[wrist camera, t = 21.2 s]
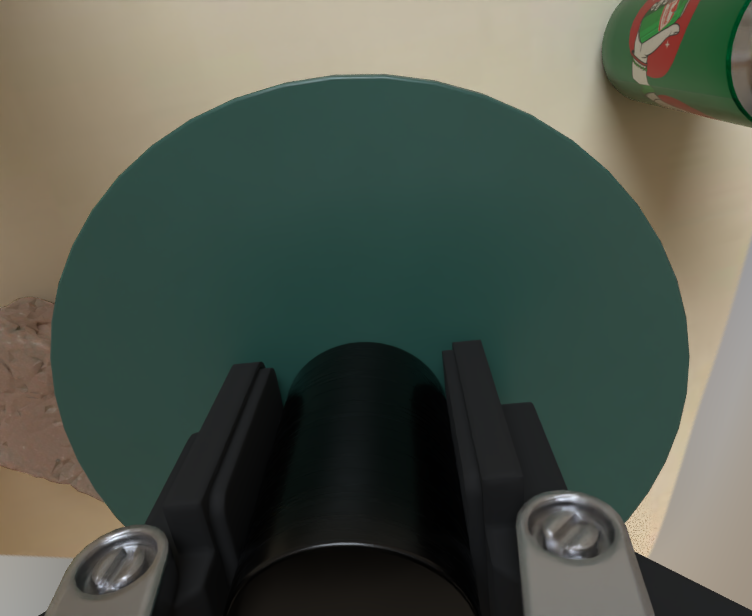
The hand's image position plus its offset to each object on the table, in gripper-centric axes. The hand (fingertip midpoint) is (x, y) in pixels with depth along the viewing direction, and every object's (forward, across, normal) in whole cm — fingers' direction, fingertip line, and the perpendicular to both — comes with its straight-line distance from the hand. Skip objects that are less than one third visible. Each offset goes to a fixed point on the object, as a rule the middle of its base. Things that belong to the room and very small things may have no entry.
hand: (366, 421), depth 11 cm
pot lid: (+1, 0, 0) cm, 1 cm away
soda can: (+20, -13, -5) cm, 24 cm away
